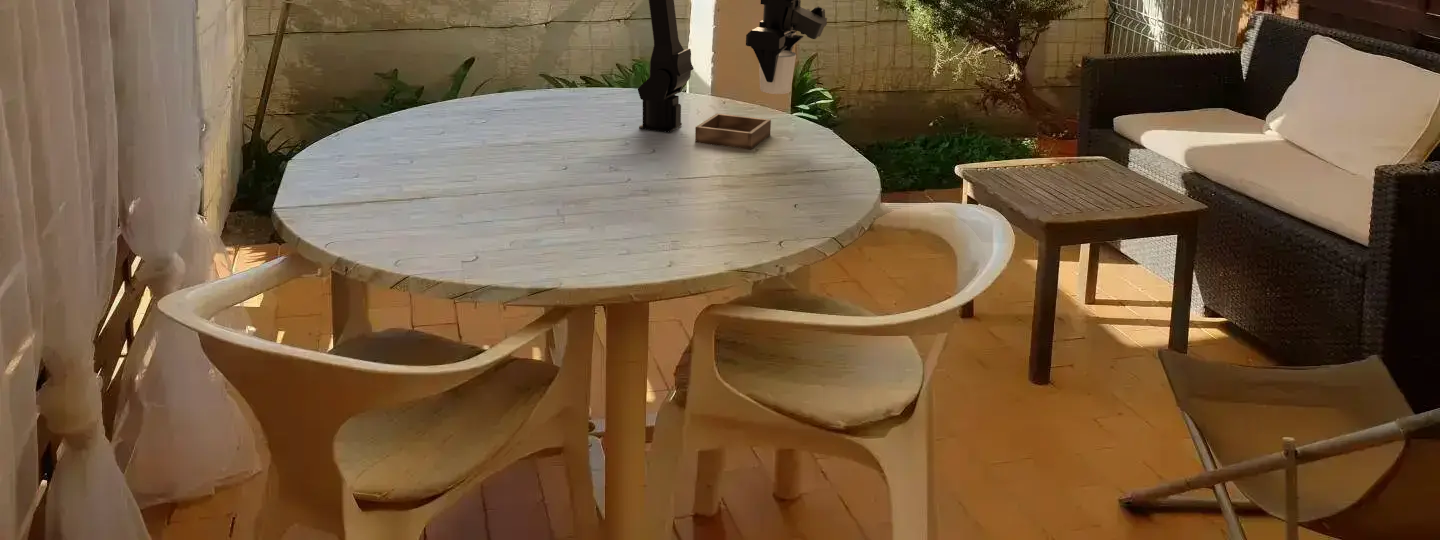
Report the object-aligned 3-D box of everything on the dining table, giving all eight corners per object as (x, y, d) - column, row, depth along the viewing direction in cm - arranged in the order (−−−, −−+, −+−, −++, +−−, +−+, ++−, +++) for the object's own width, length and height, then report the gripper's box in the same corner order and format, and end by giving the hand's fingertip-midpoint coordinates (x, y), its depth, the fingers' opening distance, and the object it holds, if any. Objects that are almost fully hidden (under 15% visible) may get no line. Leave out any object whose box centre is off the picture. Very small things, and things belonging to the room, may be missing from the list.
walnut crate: (695, 142, 234) (695, 126, 233) (716, 128, 244) (716, 113, 243) (751, 149, 231) (751, 133, 230) (770, 135, 240) (770, 119, 239)
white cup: (794, 87, 235) (797, 49, 233) (793, 95, 229) (795, 57, 226) (758, 84, 236) (759, 47, 233) (755, 93, 229) (757, 55, 227)
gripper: (808, 4, 215) (802, 94, 221) (838, -11, 231) (831, 73, 237) (746, -2, 218) (742, 87, 224) (780, -17, 235) (775, 66, 241)
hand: (775, 78), depth 231 cm, fingers closed on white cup, 6 cm apart
